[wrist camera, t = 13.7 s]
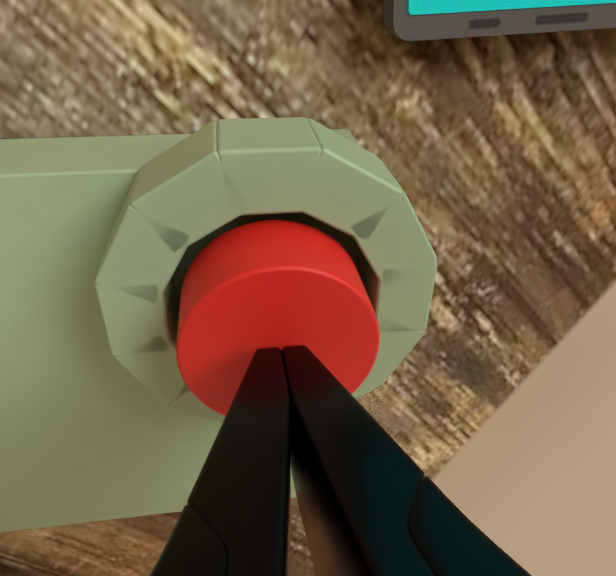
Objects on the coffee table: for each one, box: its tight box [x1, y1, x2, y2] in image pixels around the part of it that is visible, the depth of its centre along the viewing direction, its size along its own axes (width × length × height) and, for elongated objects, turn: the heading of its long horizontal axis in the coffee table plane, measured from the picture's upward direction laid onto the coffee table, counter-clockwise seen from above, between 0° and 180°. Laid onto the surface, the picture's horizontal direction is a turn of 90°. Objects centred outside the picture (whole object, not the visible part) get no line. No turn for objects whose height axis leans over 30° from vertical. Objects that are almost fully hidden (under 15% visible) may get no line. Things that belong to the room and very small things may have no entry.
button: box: [176, 220, 380, 416], centre depth 10 cm, size 4×4×2 cm
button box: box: [0, 117, 437, 533], centre depth 13 cm, size 15×12×4 cm
